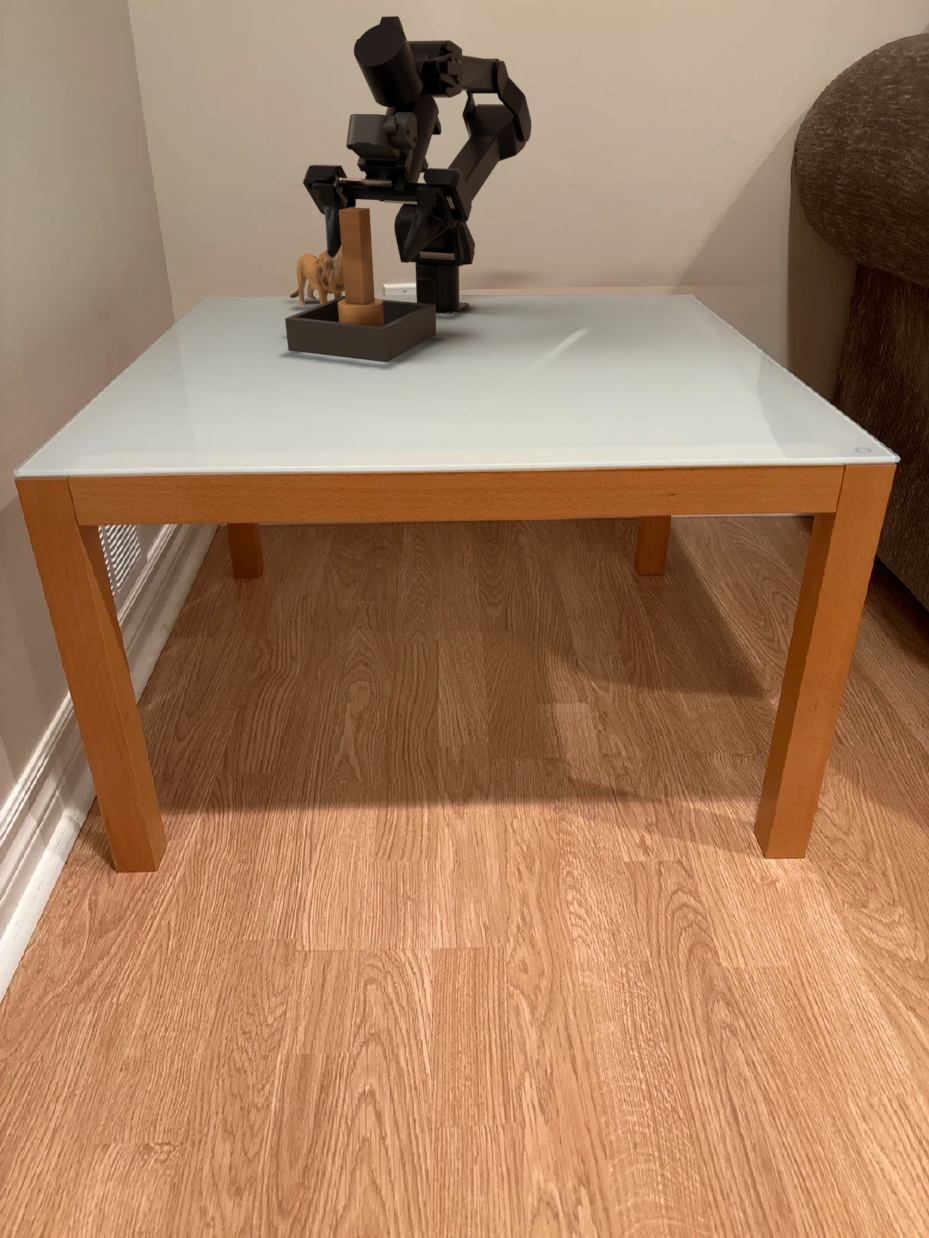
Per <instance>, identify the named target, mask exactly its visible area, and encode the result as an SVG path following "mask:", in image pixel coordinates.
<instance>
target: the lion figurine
mask: <svg viewBox="0 0 929 1238" xmlns="http://www.w3.org/2000/svg"><path fill="white" fill-rule="evenodd" d="M296 279H297V285H298V287H297V289H296V291H294V292H292V293H291V294H290V295H289V298H291V299H296V298H297V297H298V305H299V306H305V305H307V303H306V302H305V287H306V283H307V281H308V284H307V294H306V295H307V299H309V300H315V299H317V297H316V296H314V291H315V290H317V292H318V299H319V303H320V304H323V303H325V302H328V295H329V294H330V295H333V299H336V298H338V297H341V296H343V293H345V287H344V273H343V259H342V245H341V247H340V249H339V251H338V253H337V254H336V256H335V257H334V258H331V257H330V256H329V254H328V252H327V249H325V250H324V251H323V252H321V253H320V254H319V255H318V257H317V256H316V255H314V254H313V253H304V254H303V255H301V256H300V257H299V258H298V260H297V262H296ZM320 304H319V305H320Z"/></svg>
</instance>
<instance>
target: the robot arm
mask: <svg viewBox="0 0 929 1238" xmlns="http://www.w3.org/2000/svg"><path fill="white" fill-rule="evenodd" d="M353 55H354V58H355V60H356V62H357V64H358V67H359V68H360V71H361V74H362V76H363V77H364V79H365V82H366V84H367V86H368V89H369V90H370V93H371V95H372V97H373V100H374V101H375V103H376V104H378V105H380V106H381V107H385V108H386V111H385V114H381V113H352V114H350V115H349V120H348V128H347V135H346V145H345V147H346V148H347V149H348V151H352V152H353V153H354V154H355V155H356V156H358V160H357V163H356V165H357V167H358V169H359V172H361V173H365V177H364V178H360V177H359V178H358V177H348V176H347V174H346V172H345V170H344V168H343V166H342V165H341V164H340V165H339V164H311V165H309V166H308V168H307V169H306V171H305V174H304V178H303V181H302V184H303V186H304V187H305V189H306V191H307V193H308V194H309V196H310V197H311V199H312V201H313V202H314V204H315V206H316V208H317V209H318V211H319V212H320V214H322V215H323V216H324V218H325V219H324V220H325V234H326V235H325V237H326V250H327V252H328V254H329V256H330V257H331V258H334V257H335V256H336V254H337V253H338V251H339V249H340V247H341V231H340V217H339V210H341V209H345V208H349V207H355V208H356V205H357V200H361V201H362V200H364V201H366V200H367V201H378V202H381V203H382V202H384V203H386V204H401V206H400V208H399V209H398V212H397V213H396V215H395V218H394V226H393V228H394V237H395V239H396V246H397V250H398V255H399V260H400V263H405V264H408V263H414V264H415V294H416V303H424V304H435V305H436V314H445V315H450V314H453V313H461V312H462V311H464V310H466V309H468V308H470V303H469V302H461V301H460V267H463V266H466V265H467V266H468V265H469V266H470V265H472V264H473V261H474V258H475V253H476V251H475V248H476V242H475V240H474V238H473V235H472V233H471V231H470V228H469V225H468V223H467V222H468V221H469V218H470V216H471V212H472V209H473V201H474V199H475V198H476V196H477V195H478V194H479V192H480V190H481V188H482V187H483V186H484V184H485V183H486V181H487V180H488V178H489V176H490V175H491V174H492V173H493V170H494V169H495V168H496V166H497V164H498V163H499V162H502V161H504V160H507V159H511V158H514V157H516V156H517V155H518V154H519V153H520V152H522V150H523V149H524V148H525V147H526V144H527V143H528V142H529V140H530V138H531V134H532V117H531V113H530V109H529V106H528V101H527V98H526V94H524V92H523V91H522V90H521V89H520V88H519V86H518V85H517V84H516V83H515V82H514V81H513V79H512V78H511V77H510V76H509V73H508V68H507V65H506V62H505V61H504V60H500V58H496V57H495V58H493V57H492V58H483V57H478V56H477V57H476V56H470V55H466V54H465V55H464V54H463V48H462V47H461V46H459V45H458V44H456V43H455V42H453V41H452V40H449V39H446V40H445V39H442V40H441V39H439V40H438V39H437V40H408V39H407V36H406V33H405V30H404V27H403V24H402V21H401V19H400V17H399V16H398V15H394V16H381V18H380V21H379V24H376V25H374V26H372V27H370V28H368V29H367V30H366V31H365V32H364V33H363V34H361V36H360V37H359V38H357V39H356V41H355V43H354V46H353ZM462 92H465V93H466V96H467V99H466V102H465V105H464V108H463V110H462V114H461V116H462V120H463V122H464V125H465V128H466V131H467V135H468V139H467V141H466V142H465V143H464V145H463V147H462V148H460V150H459V152H458V153H457V154H456V156H455V157H454V158H453V160H452V161H451V163H450V164H449V165H448V168H443V167H441V168H440V167H439V168H438V167H429V163H428V160H427V158H426V157H427V154H428V151H429V147H430V143H431V140H432V136H440V135H442V124H441V121H440V118H439V114H440V109H439V107H438V104H437V102H436V99H451V98H454V97H456V96H458V95H461V93H462ZM474 94H475V95H477V94H482V95H483V94H484V95H485V94H487V95H488V94H490V95H491V94H493V95H495V94H496V95H497V98H498V100H499V101H500V102H501V103H477V104H476V102H475V99H474ZM435 98H436V99H435ZM421 174H423V177H422V178H423V181H424V182H419V180H420V176H421Z"/></svg>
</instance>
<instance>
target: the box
mask: <svg viewBox="0 0 929 1238" xmlns="http://www.w3.org/2000/svg"><path fill="white" fill-rule="evenodd" d="M343 299H345V295H342V296H341V297H338V298H336V299H334V298H333V299H331V300H329V301H328V300H327V302H325V303H323V304H317V305H315V306H313V307H310V308H307V309H305V310H303V311H300V312H298V313H295V314H293V315H290V316H288V317H285V318H284V321H285V331H286V333H285V334H286V341H287V350H288V351H290V352H299V353H306V354H315V355H324V356H332V357H340V358H348V359H355V360H365V361H372V362H380V363H388V362H389V361H391V360H393V359H394V358H397V357H398V356H400V355H402V354H404V353H406V352H408V351H410V350H412V349H413V348H415V347H417V346H419V345H421V344H423V343H425V342H426V341H428V340H430V339H432V338H434V337H436V336H437V313H436V305H435V304H424V303H417V302H412V301H403V300H391V299H381V298H380V299H381V300H382V301H383V315H384V326H382V327H379V326H370V325H361V324H351V323H342V322H339V314H338V302H339V301H340V300H343Z"/></svg>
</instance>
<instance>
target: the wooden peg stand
mask: <svg viewBox="0 0 929 1238" xmlns="http://www.w3.org/2000/svg"><path fill="white" fill-rule="evenodd" d="M339 217H340V231H341V245H342V259H343V273H344V287H345V291H344V296H345V299H343V300H340V301H339V302H338V314H339V322H342V323H351V324H361V325H370V326H379V327H382V326H384V315H383V301H382V300H383V299H382V300H381V298H378V297H375V281H374V280H375V279H374V261H373V246H372V245H373V244H372V228H371V227H372V225H371V209H370V208H369V207H356V206H355V207H349V208H345V209H341V210H339Z"/></svg>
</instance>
